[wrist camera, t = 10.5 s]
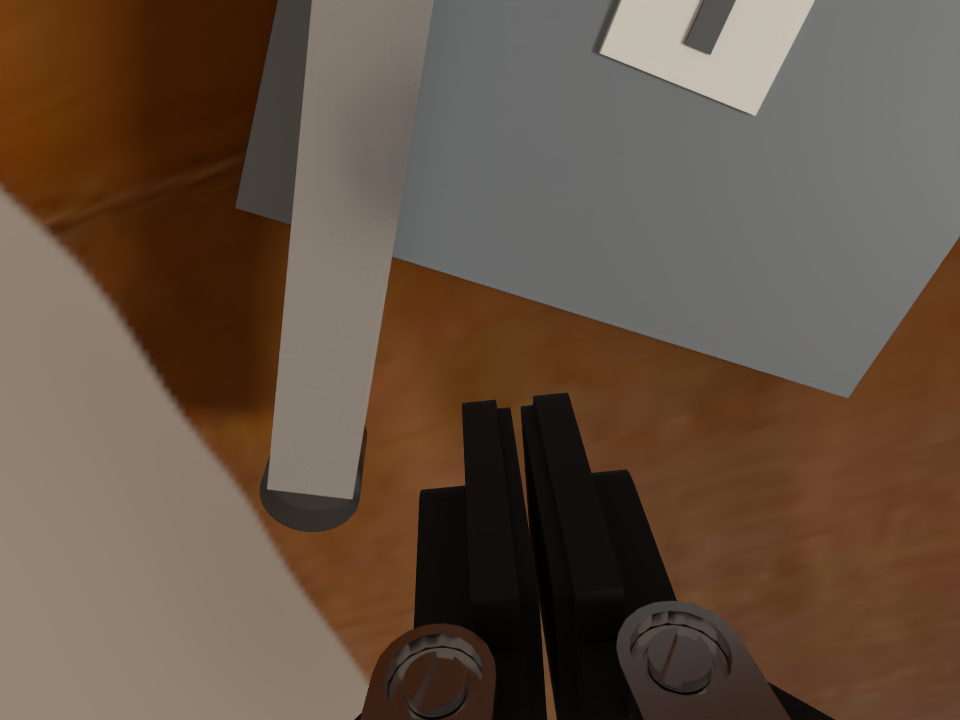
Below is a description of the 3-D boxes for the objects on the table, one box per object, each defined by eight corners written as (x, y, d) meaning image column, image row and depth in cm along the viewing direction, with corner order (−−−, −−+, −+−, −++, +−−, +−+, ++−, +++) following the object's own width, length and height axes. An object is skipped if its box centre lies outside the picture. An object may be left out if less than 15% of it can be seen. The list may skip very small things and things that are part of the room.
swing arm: (333, -357, 14) (312, -434, 11) (510, -302, 15) (529, -363, 12) (263, 462, 23) (242, 524, 21) (373, 475, 24) (366, 538, 21)
